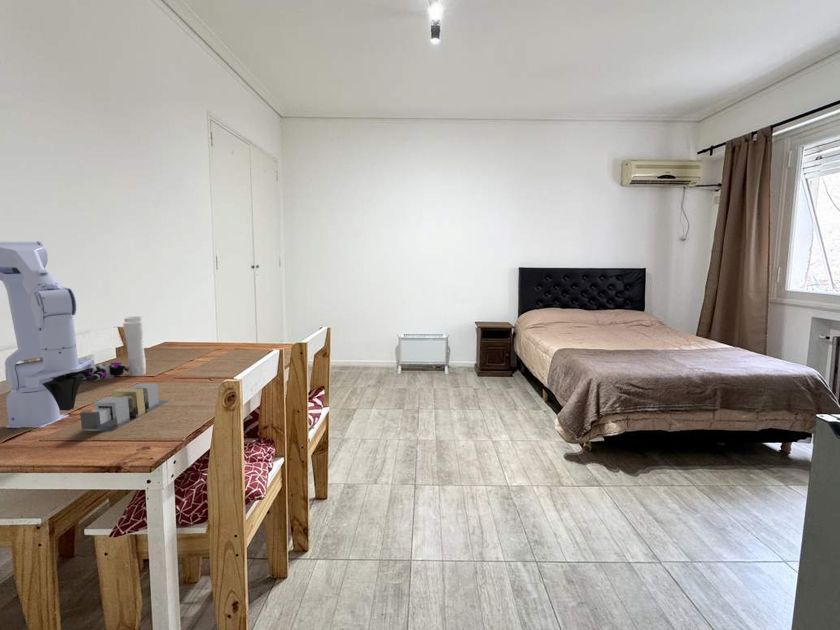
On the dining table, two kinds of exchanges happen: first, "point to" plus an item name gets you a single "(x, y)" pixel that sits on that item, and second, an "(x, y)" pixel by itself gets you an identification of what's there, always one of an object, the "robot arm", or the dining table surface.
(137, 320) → the white plastic bottle
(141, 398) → the spacer
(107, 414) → the shaft
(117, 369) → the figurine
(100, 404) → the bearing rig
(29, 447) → the dining table surface
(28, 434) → the dining table surface
